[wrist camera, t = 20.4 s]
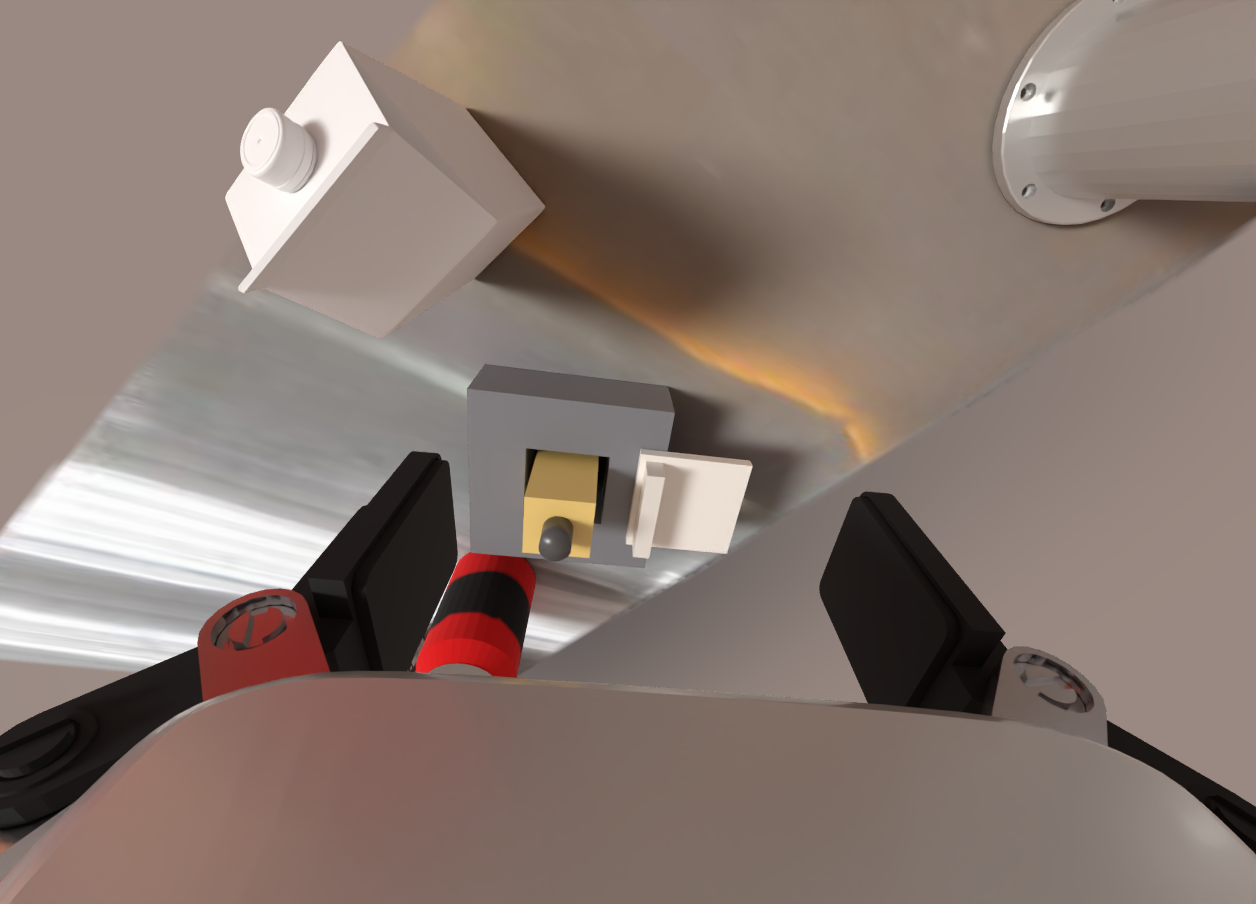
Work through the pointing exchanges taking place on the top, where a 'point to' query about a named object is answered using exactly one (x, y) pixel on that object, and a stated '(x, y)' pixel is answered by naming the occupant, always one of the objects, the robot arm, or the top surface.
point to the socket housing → (558, 450)
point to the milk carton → (372, 196)
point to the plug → (560, 505)
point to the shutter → (685, 502)
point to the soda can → (481, 618)
